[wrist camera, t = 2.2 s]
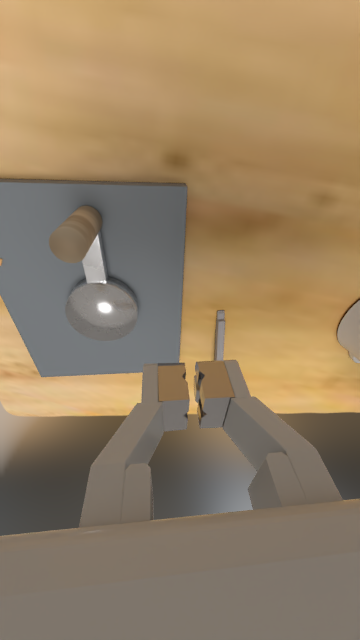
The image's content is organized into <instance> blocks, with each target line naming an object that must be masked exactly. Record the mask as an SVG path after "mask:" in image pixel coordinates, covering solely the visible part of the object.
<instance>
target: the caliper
mask: <svg viewBox="0 0 360 640" xmlns="http://www.w3.org/2000/svg"><path fill="white" fill-rule="evenodd" d="M224 314H225V313H224V310H220V311H217V320H216V337H215V361H220V360H222V361H223V351H224V332H225V320H224Z"/></svg>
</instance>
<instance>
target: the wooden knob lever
mask: <svg viewBox="0 0 360 640" xmlns="http://www.w3.org/2000/svg"><path fill="white" fill-rule="evenodd" d="M101 227H102V217H101V215H100V213H99V212H98V211H97V210H96V209H95V208H93V207H91V206H81V207H79V208H78V209H77V210H75V211H74V212H73V213H72V214H71V215H70V216H69V217H68V218H67V219H66V220H65V221H64V222H63V223H62V224H61V225H60V226H59V227H58V228H57V229H56V230H55V231H54V232H53V233H52V234H51V235H50V238H49V246H50V249H51V251H52V252H53V254H54V255H55V256H56V257H57V258H58V259H60V260H62V261H64V262H67V263H77V262H80V261H82V263H83V267H84V271H85V276H86V279H84V280H82V281H81V282H79V283H78V284H77V285H76V286H75V287H74V289H73V290H72V292H71V294H70V296H69V298H68V300H67V302H66V306H65V313H66V317H67V320H68V321H69V323H70V325H71V326H72V327H73V328H74V329H75V330H76V331H77V332H79V333H80V334H82V335H84V336H85V337H88V338H90V339H94V340H98V341H113V340H117V339H120V338H123V337H125V336H126V335H128V334H129V333H130V332H131V331H132V330H133V329H134V327H135V325H136V322H137V315H138V302H137V299H136V297H135V295H134V293H133V292H132V290H131V289H130V288H129V287H128V286H126V285H125V284H124V283H122V282H120V281H118V280H116V279H113V278H110V277H108V274H107V268H106V262H105V256H104V251H103V245H102V239H101V233H100V229H101Z"/></svg>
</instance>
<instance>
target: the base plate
mask: <svg viewBox="0 0 360 640" xmlns="http://www.w3.org/2000/svg"><path fill="white" fill-rule="evenodd" d="M186 205H187V185H186V184H185V183H150V182H110V181H71V180H32V179H0V295H1V297H2V299H3V301H4V303H5V305H6V307H7V309H8V311H9V313H10V315H11V317H12V319H13V321H14V323H15V325H16V327H17V329H18V331H19V333H20V335H21V337H22V339H23V341H24V343H25V345H26V347H27V349H28V351H29V353H30V355H31V357H32V359H33V361H34V363H35V365H36V367H37V369H38V371H39V373H40V375H41V377H55V376H76V375H97V374H117V373H138V372H143V365H144V364H149V363H157V364H158V363H179V354H180V333H181V312H182V290H183V269H184V248H185V227H186ZM81 206H91V207H93V208H95V209H96V210H97V211H98V212H99V213H100V215H101V217H102V227H101V229H100V233H101V239H102V245H103V251H104V256H105V262H106V268H107V274H108V277H110V278H113V279H116V280H118V281H120V282H122V283H124V284H125V285H126V286H128V287H129V288H130V289H131V290H132V292H133V293H134V295H135V297H136V299H137V302H138V315H137V322H136V325H135V327H134V329H133V330H132V331H131V332H130V333H129V334H128V335H126V336H125V337H123V338H120V339H117V340H113V341H98V340H94V339H90V338H88V337H85V336H84V335H82V334H80V333H79V332H77V331H76V330H75V329H74V328H73V327H72V326H71V325H70V323H69V321H68V320H67V317H66V313H65V306H66V302H67V300H68V298H69V296H70V294H71V292H72V290H73V289H74V287H75V286H76V285H77V284H78V283H79V282H81V281H82V280H84V279H86V276H85V271H84V267H83V263H82V261H80V262H77V263H67V262H64V261H62V260H60V259H58V258H57V257H56V256H55V255H54V254H53V252H52V251H51V249H50V246H49V238H50V235H51V234H52V233H53V232H54V231H55V230H56V229H57V228H58V227H59V226H60V225H61V224H62V223H63V222H64V221H65V220H66V219H67V218H68V217H69V216H70V215H71V214H72V213H73V212H74V211H75V210H77V209H78V208H79V207H81Z"/></svg>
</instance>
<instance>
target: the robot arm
mask: <svg viewBox="0 0 360 640" xmlns="http://www.w3.org/2000/svg"><path fill="white" fill-rule="evenodd" d="M337 338H338V341H339V343H340V345H341V346H342V347H344V348H345V349H347V350H348V351H349V356H350V358H351V359H352V360H353V361H354V362H355V363H360V300H359V301H358V302H357V303H356V304H355V305H354V306H353V307H352V308H351V309H350V310H349V311H348V312H347V313H346V315H345V316H344V318H343V319H342V321H341V323H340V325H339V328H338V332H337ZM195 371H196V375H195V376H194V395H195V401H196V402H197V403H198V408H197V414H198V419H199V425H200V428H215V427H216V428H217V427H223V429H224V431H225V432H226V433H227V434H228V436H229V437H230V438H231V439H232V441H233V442H234V443H235V444H236V446H237V447H238V448H239V449H240V451H241V452H242V453H243V454H244V456H245V457H246V458H247V459H248V461H249V462H250V463H251V464H252V466H253V467H254V468H255V469H256V471H257V474H256V475H255V477H254V479H253V480H252V482H251V484H250V486H249V488H248V492H249V495H250V500H251V503H252V507H253V510H247V511H237V512H228V513H219V514H208V515H199V516H190V517H179V518H170V519H161V520H153V492H152V481H151V470H150V467H149V466H148V463H149V461H150V458H151V456H152V455H153V453H154V451H155V449H156V447H157V445H158V443H159V441H160V439H161V437H162V435H163V433H164V432H163V431H172V430H182V429H187V421H188V418H187V412H188V411H189V400H190V399H189V391H188V383H187V381H186V380H185V376H186V369H185V364H184V363H158V364H157V363H149V364H144V365H143V380H142V402H141V403H137V404H136V406H135V407H134V408H133V410H132V411H131V412H130V414H129V415H128V417H127V418H126V419H125V421H124V422H123V423H122V425H121V426H120V427H119V429H118V430H117V431H116V433H115V434H114V435H113V437H112V438H111V440H110V441H109V442H108V444H107V445H106V446H105V448H104V449H103V450H102V452H101V453H100V454H99V456H98V457H97V459H96V460H95V461H94V463H93V464H92V465H91V469H90V474H89V479H88V485H87V489H86V495H85V500H84V505H83V510H82V515H81V521H80V525H79V528H74V529H64V530H55V531H46V532H35V533H26V534H17V535H6V536H0V640H360V499H353V500H343V499H342V498H341V496H340V494H339V492H338V490H337V488H336V486H335V484H334V482H333V480H332V478H331V476H330V475H329V473H328V471H327V469H326V467H325V465H324V464H323V461H322V459H321V457H320V455H319V453H318V452H317V450H316V448H315V447H314V446H312V445H311V444H310V443H309V442H308V441H307V440H305V439H304V438H303V437H302V436H301V435H299V434H298V433H297V432H296V431H295V430H293V429H292V428H291V427H290V426H289V425H288V424H287V423H285V422H284V421H283V420H281V418H280V417H278V416H277V415H276V414H275V413H274V412H273V411H271V410H270V409H269V408H268V407H267V406H266V405H264V404H263V403H262V402H261V401H260V400H259V399H257V398H256V397H251V395H250V393H249V390H248V387H247V385H246V382H245V380H244V377H243V374H242V372H241V369H240V367H239V364H238V362H237V361H236V360H223V361H222V360H220V361H201V362H196V366H195Z"/></svg>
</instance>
